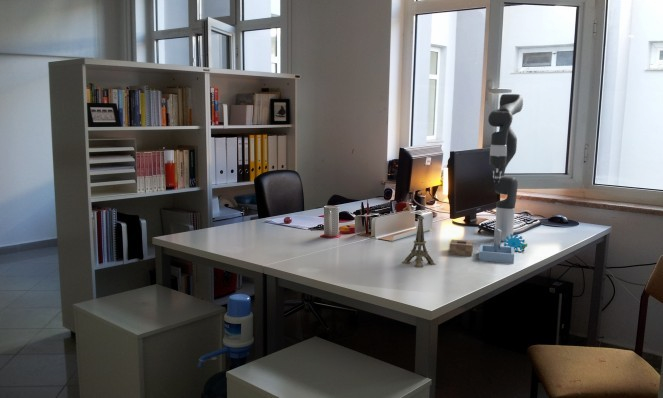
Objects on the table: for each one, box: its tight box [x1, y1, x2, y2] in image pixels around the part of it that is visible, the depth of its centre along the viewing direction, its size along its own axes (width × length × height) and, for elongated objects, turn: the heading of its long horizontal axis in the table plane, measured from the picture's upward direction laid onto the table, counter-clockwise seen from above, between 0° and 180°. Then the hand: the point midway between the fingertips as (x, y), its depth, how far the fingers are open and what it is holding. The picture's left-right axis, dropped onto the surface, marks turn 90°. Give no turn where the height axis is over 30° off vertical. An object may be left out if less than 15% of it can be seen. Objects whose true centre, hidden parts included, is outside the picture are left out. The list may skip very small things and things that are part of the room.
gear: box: [503, 233, 528, 253], centre depth 277 cm, size 11×6×10 cm
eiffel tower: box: [401, 214, 437, 269], centre depth 246 cm, size 11×11×25 cm
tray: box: [478, 244, 515, 264], centre depth 260 cm, size 15×15×4 cm
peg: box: [493, 228, 502, 253], centre depth 260 cm, size 3×3×12 cm
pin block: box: [448, 239, 474, 257], centre depth 269 cm, size 10×10×5 cm
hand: (496, 189), depth 268 cm, fingers open, 8 cm apart
